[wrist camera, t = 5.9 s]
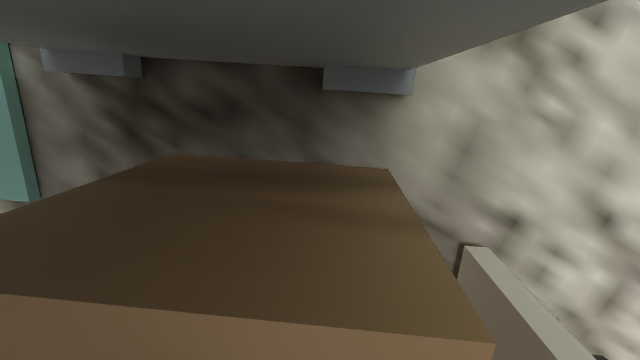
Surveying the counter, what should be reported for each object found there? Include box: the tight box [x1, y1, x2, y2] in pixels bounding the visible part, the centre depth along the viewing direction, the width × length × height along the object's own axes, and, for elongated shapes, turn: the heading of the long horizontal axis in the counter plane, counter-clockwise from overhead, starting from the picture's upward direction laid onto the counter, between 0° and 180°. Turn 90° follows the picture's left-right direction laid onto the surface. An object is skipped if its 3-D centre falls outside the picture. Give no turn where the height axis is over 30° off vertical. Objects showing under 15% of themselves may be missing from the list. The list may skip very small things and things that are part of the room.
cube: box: [0, 153, 496, 360], centre depth 7 cm, size 7×7×7 cm
